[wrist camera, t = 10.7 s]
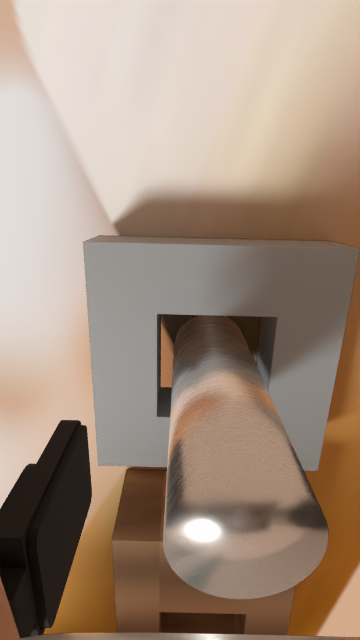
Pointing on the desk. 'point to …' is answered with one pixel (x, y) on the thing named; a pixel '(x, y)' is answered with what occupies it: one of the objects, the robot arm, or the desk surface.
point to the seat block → (222, 300)
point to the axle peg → (233, 474)
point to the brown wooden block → (174, 576)
